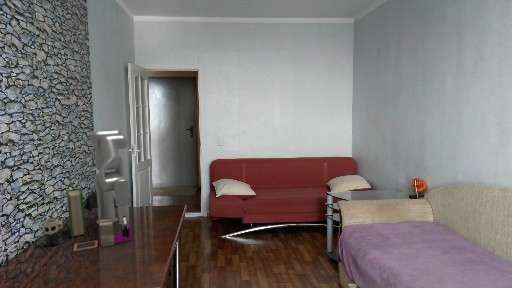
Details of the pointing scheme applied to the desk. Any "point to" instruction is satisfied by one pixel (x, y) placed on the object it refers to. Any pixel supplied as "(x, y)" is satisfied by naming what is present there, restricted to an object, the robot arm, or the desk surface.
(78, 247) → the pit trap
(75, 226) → the hardback book
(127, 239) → the toy block
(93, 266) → the desk surface
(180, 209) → the desk surface
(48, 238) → the character mug
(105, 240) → the tunnel
